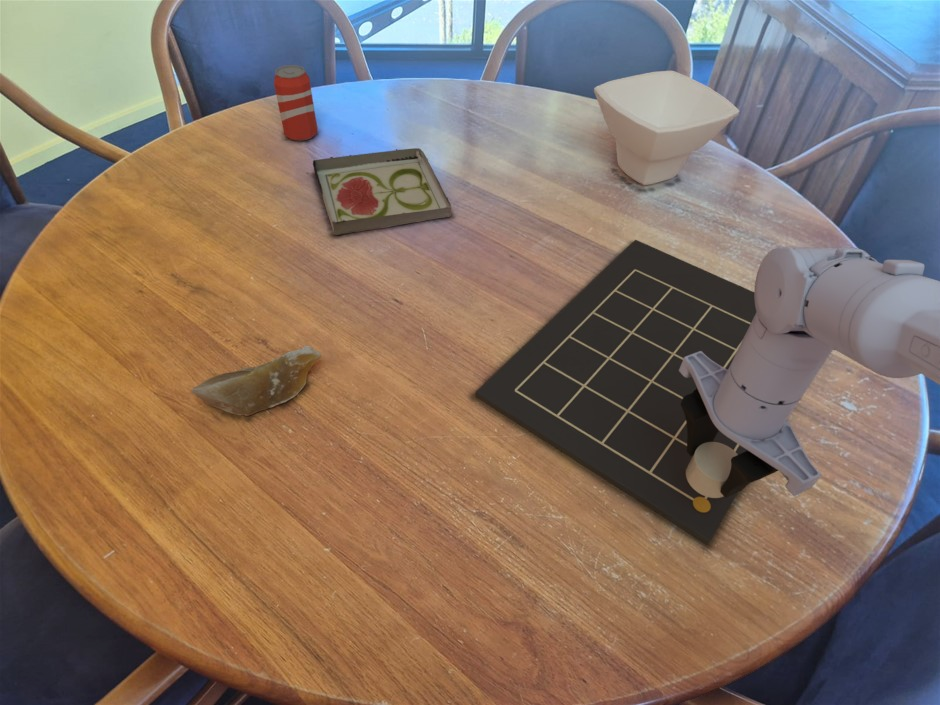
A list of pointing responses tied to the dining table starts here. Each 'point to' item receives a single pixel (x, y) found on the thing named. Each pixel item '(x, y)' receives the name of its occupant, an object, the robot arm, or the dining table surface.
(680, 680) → the dining table surface
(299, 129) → the beverage can
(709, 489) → the cylinder
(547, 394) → the board
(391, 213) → the decorative tile
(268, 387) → the stone
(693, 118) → the bowl
